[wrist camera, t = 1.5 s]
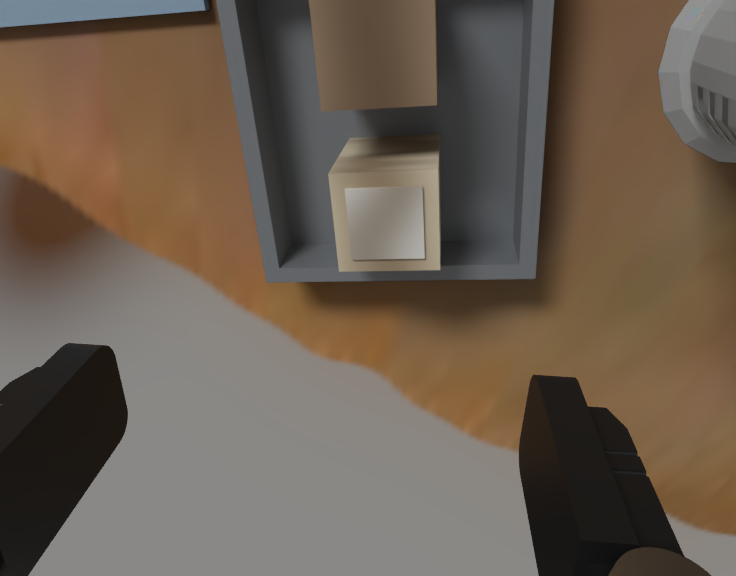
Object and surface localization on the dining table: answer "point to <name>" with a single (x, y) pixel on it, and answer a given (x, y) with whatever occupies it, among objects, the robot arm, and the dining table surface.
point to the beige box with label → (387, 203)
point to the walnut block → (375, 53)
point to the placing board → (88, 10)
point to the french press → (702, 77)
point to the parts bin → (448, 118)
